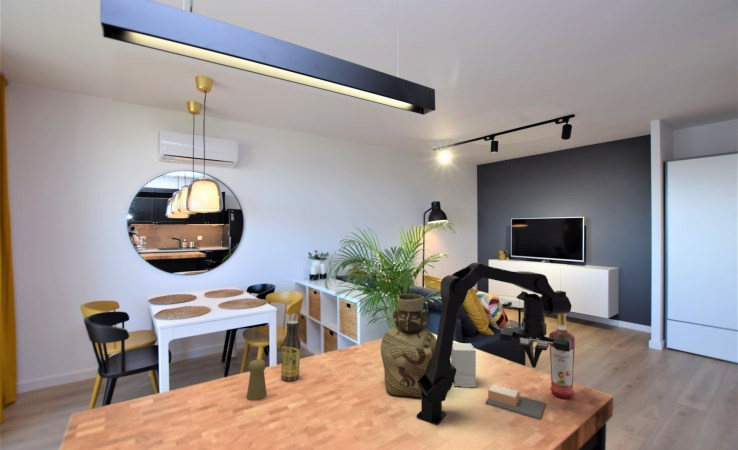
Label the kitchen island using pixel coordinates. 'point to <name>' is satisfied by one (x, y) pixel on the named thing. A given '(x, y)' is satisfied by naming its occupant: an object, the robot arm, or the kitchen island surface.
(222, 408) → the kitchen island surface
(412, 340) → the ceramic vessel
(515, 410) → the mat
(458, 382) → the supplement box
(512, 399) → the slab
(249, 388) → the pepper mill
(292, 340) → the sauce bottle
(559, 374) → the liquor
